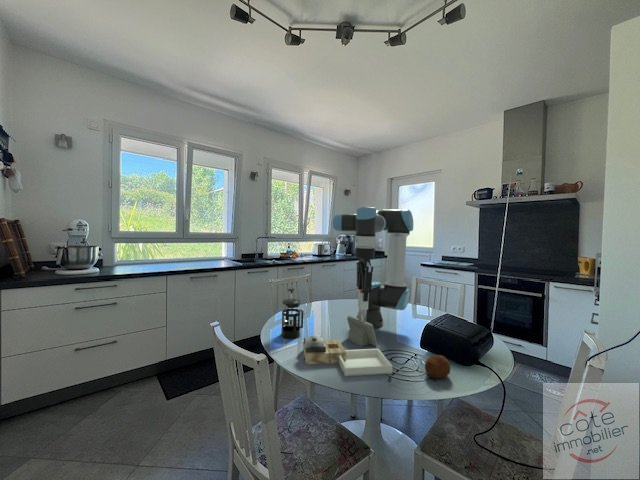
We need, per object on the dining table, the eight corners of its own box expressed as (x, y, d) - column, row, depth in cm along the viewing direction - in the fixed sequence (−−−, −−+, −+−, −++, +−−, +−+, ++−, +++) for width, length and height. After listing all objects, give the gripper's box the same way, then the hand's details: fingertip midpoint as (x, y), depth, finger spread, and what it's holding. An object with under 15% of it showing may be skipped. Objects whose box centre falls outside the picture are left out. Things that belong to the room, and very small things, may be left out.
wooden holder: (338, 348, 117) (339, 331, 116) (345, 362, 105) (346, 343, 105) (302, 350, 114) (303, 333, 114) (305, 364, 102) (306, 345, 102)
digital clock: (378, 346, 120) (379, 323, 119) (361, 350, 116) (362, 326, 116) (358, 333, 135) (359, 313, 134) (343, 336, 131) (344, 315, 130)
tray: (377, 355, 111) (378, 348, 111) (392, 373, 98) (392, 365, 97) (336, 357, 108) (336, 350, 108) (345, 376, 95) (345, 368, 94)
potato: (419, 376, 96) (419, 356, 96) (431, 366, 104) (432, 347, 104) (442, 386, 90) (444, 365, 90) (454, 374, 98) (455, 355, 98)
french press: (284, 340, 123) (285, 292, 122) (276, 333, 131) (277, 288, 130) (306, 336, 129) (307, 289, 128) (298, 329, 137) (299, 285, 136)
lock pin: (364, 319, 104) (365, 289, 104) (367, 321, 101) (368, 290, 101) (357, 319, 104) (358, 289, 103) (359, 321, 101) (360, 290, 100)
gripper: (350, 245, 109) (348, 302, 110) (361, 248, 93) (359, 314, 94) (367, 246, 110) (365, 302, 111) (382, 249, 94) (379, 314, 95)
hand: (362, 307), depth 102 cm, fingers closed on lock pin, 3 cm apart
